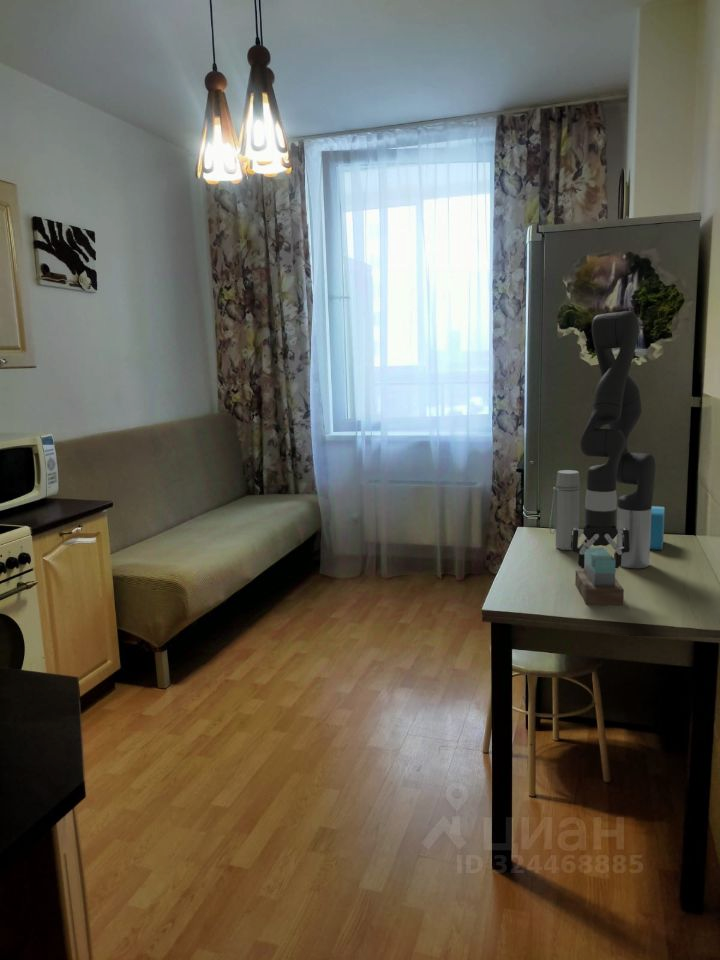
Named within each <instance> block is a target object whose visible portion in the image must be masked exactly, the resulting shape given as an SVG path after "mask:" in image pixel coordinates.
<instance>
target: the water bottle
mask: <svg viewBox="0 0 720 960" xmlns="http://www.w3.org/2000/svg"><path fill="white" fill-rule="evenodd" d="M552 488H553V497H552V505H551V512H550V520H549V524H548V525H549V534H552V535H553V534H554V533H555V547H556V548H557V549H559V550H561V551H572V550H571V548H570V547H571V535H572V528H576V529H580V528H579V527H580V525H579V524H580V523H579V522H580V521H579V520H580V494H581V493H580V488H581V485H580V473H579V471H577V470H574V469H573V470H571V469H564V470H562V469H561V470H558V471H557V474H556V482H555V486H554V487H552ZM553 507H554V514H555V520H554V530H553V531H551V524H552V523H551V522H552V517H553V516H552V515H553ZM577 547H579V542H578V543H577Z"/></svg>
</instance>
